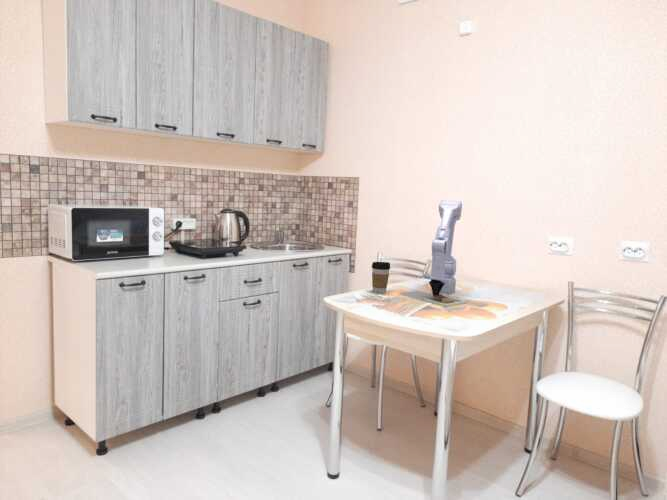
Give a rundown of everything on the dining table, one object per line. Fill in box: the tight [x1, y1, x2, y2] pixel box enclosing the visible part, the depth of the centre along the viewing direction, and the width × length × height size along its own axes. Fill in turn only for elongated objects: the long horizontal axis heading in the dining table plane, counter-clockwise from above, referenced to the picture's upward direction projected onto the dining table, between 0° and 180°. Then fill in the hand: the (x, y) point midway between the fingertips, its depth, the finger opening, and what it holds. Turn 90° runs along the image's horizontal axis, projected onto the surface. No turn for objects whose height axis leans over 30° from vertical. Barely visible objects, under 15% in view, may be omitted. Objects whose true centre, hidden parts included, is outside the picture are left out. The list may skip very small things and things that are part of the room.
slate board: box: [397, 290, 434, 302], centre depth 227 cm, size 14×15×1 cm
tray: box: [422, 294, 467, 308], centre depth 217 cm, size 14×12×2 cm
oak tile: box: [441, 298, 456, 304], centre depth 216 cm, size 4×4×2 cm
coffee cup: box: [371, 261, 391, 295], centre depth 229 cm, size 8×8×15 cm
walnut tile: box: [432, 293, 447, 303], centre depth 218 cm, size 4×4×2 cm
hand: (435, 297), depth 221 cm, fingers closed
